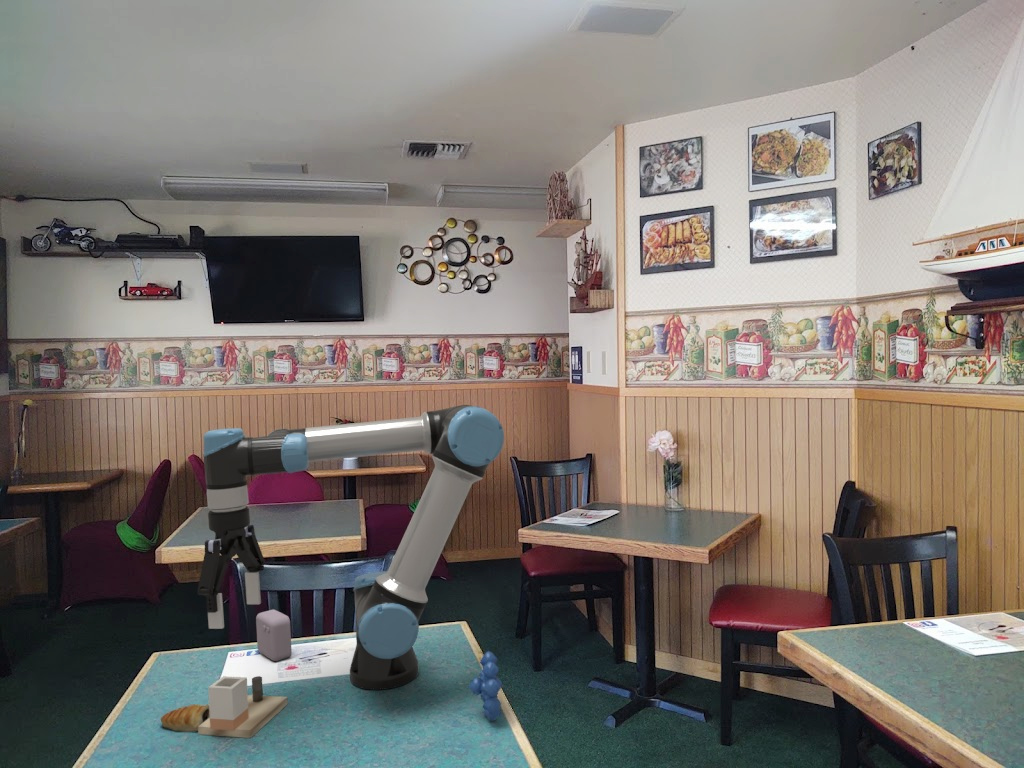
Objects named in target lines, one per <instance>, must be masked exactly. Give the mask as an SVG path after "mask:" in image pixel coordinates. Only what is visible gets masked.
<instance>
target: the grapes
mask: <svg viewBox="0 0 1024 768" xmlns="http://www.w3.org/2000/svg"><path fill="white" fill-rule="evenodd" d="M497 661H498V658H497V657H496V655H495V654H494V653H493V652H491V651H489V650H487V651H486V652H485V653H484V654H483V655H482V657H481V659H480V661H479V663H480V664H481V666H482V669H481V671H479V674H478V676H479V677H476V676H475V677H474V678H473V679H472V680H471V682H470V684H469V685H468V689H469V690H470V691H471V692H472V694H474V695H475V696H479V697H480V700H482V701H483V702H484V704H483V705H482V709H483V710H484V711H483V713H484V715H485V716H486V718H487V719H488V720H489V721H492V722H494V721H496V720H497V718H498V717H499V716H500V714H501V711H502V710H501V709H500V707H501V705H502V702H501V701H500V700H499V698H498V695H499V691H500V690H501V688H502V687H503V683H502V680H501V679H500V678H498V677H497V674H498V673H499V671H500V669H499V667H498V666H497V665H496V664H497Z"/></svg>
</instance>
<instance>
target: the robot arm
mask: <svg viewBox="0 0 1024 768" xmlns="http://www.w3.org/2000/svg"><path fill="white" fill-rule="evenodd" d="M504 433H505V431H504V428H503V426H502V424H501V422H500V420H499V419H498V417H496V415H495V414H493V412H491V411H489V410H488V409H487V408H483V407H480V406H473V405H469V404H461V405H460V404H459V405H455V406H452V407H448V408H444V409H443V408H442V409H438V410H437V409H436V410H430V411H424V412H423V413H422V414H421V415H420V416H413V417H404V418H395V419H383V420H375V421H374V420H371V421H364V422H354V423H343V424H332V425H331V424H330V425H323V426H313V427H312V426H311V427H305V428H292V429H288V428H280V429H275V430H273V431H271V432H270V433H269V434H268V435H267V436H257V437H249V436H248V437H247V436H246V434H245V433H244V429H242V428H239V427H236V428H235V427H234V428H219V429H213V430H209V431H206V432H205V433H204V435H203V454H202V456H203V463H204V465H203V466H204V475H205V476H204V478H205V485H206V486H205V487H206V498H207V501H206V503H207V508H208V509H209V512H208V513H207V517H208V519H207V521H208V529H209V530H210V531H212V532H214V535H215V536H214V540H213V539H212V540H211V539H210V540H209V539H208V540H207V539H206V540H205V541H204V555H203V560H202V565H201V570H200V576H199V581H198V587H197V590H196V591H197V595H198V596H199V595H200V596H205V598H206V601H205V602H206V611H207V620H208V622H207V623H208V629H210V630H211V629H214V630H217V629H218V630H219V629H221V630H223V629H224V628H225V620H224V619H225V618H224V606H223V605H224V603H223V593H222V592H220V590H221V586H222V583H223V580H224V577H225V574H226V570H227V567H228V564H229V563H230V562H231V561H232V560H233V557H235V556H236V557H238V559H239V560H240V563H241V564H243V566H244V568H245V569H246V570H247V571H246V572H244V580H245V583H244V584H245V596H246V597H245V598H246V605H260V604H261V603H262V599H261V598H262V597H261V586H260V584H261V583H260V571H261V572H262V571H264V570H265V566H264V565H265V562H266V561H265V559H264V555H263V552H262V549H261V547H260V545H259V542H258V539H257V537H256V533H255V526H254V525H253V524H250V523H251V519H250V516H251V515H250V509H249V507H248V506H247V505H249V503H250V501H249V491H248V478H247V477H249V476H252V477H253V476H259V475H273V474H285V473H289V474H293V473H296V472H303V471H306V470H307V469H308V468H309V467H310V465H309V464H310V463H313V462H323V461H332V460H343V459H353V458H363V457H370V456H381V455H382V456H384V455H390V454H391V455H393V454H401V453H409V452H419V451H420V452H421V451H424V452H425V453H426V454H427V455H431V458H432V460H433V463H434V468H433V471H432V473H431V476H430V477H429V479H428V481H427V484H426V486H425V489H424V491H423V493H422V495H421V498H420V499H419V501H418V504H417V506H416V508H415V510H414V512H413V514H412V517H411V518H410V519H411V520H410V521H409V524H408V525H407V528H406V529H405V532H404V534H403V536H402V539H401V541H400V543H399V545H398V548H397V549H396V552H395V554H394V556H393V558H392V560H391V563H390V565H389V567H388V569H387V570H383V571H375V572H373V571H372V572H369V573H364V574H360V575H358V576H357V577H355V579H354V583H353V585H354V587H353V590H352V591H353V592H354V610H355V611H354V613H355V614H354V615H355V635H356V636H355V637H356V644H355V649H354V653H353V656H352V661H351V664H350V667H349V680H350V683H351V684H352V685H354V686H355V687H357V688H360V689H365V690H387V689H392V688H397V687H401V686H403V685H405V684H408V683H411V681H413V680H415V679H416V678H417V676H418V675H419V661H418V658H417V655H416V652H415V650H414V648H413V646H414V645H415V643H416V641H417V639H418V635H419V628H420V625H419V621H420V619H421V617H422V615H423V612H424V610H425V607H426V605H427V603H428V600H429V599H428V596H427V592H426V587H427V586H428V583H429V581H430V579H431V576H432V574H433V572H434V570H435V568H436V565H437V562H438V561H439V559H440V556H441V554H442V552H443V550H444V548H445V546H446V542H447V541H448V538H449V536H450V534H451V533H452V530H453V527H454V525H455V523H456V520H457V518H458V517H459V514H460V512H461V509H462V507H463V505H464V504H465V500H466V499H467V496H468V494H469V493H470V489H471V488H472V485H473V484H474V483H476V482H479V481H481V480H483V478H484V476H485V474H486V471H487V469H488V467H489V466H490V464H491V463H492V462H494V460H496V458H498V456H499V454H500V453H501V451H502V449H503V446H504V442H505V434H504Z"/></svg>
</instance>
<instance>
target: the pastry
mask: <svg viewBox="0 0 1024 768" xmlns="http://www.w3.org/2000/svg"><path fill="white" fill-rule="evenodd" d="M208 718H210V712H209V703H208V704H205V705H203V704H202V705H201V704H194V703H193V704H190V705H188V706H182V707H178V708H177V709H173V710H170V711H168V712H166V713H165V714H164V715H162V716H161V717H160V722H161V725H162V726H163V727H164V728H165V729H170V730H173V731H174V732H186V733H188V732H191V733H192V732H193V733H194V732H198V726H199V725H201V724H202V723H203V722H204V721H206V720H207V719H208Z"/></svg>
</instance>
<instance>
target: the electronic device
mask: <svg viewBox="0 0 1024 768" xmlns="http://www.w3.org/2000/svg"><path fill="white" fill-rule="evenodd" d="M255 624H256V625H255V626H256V641H257V643H256V644H257V651H258V653H260V654H261V655H263V656H265V657H266V658H268V659H270V660H271V661H274V662H278V661H281V660H285V659H287V658H290V657H291V656H292V634H291V632H292V631H291V620H290V618H289V616H288V615H286V614H284V613H283V612H280V611H278V610H276V609H275V608H273V609H270V610H266V611H262V612H259V613H257V615H256V617H255Z"/></svg>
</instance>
